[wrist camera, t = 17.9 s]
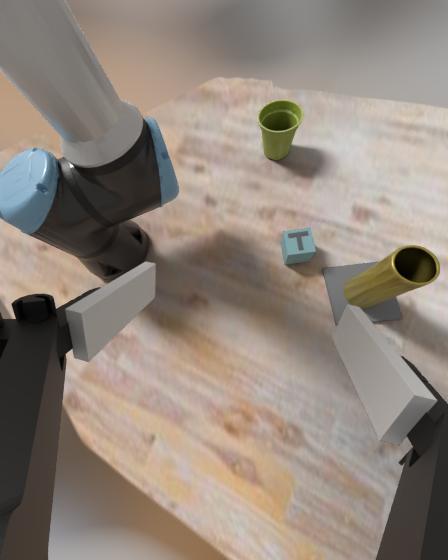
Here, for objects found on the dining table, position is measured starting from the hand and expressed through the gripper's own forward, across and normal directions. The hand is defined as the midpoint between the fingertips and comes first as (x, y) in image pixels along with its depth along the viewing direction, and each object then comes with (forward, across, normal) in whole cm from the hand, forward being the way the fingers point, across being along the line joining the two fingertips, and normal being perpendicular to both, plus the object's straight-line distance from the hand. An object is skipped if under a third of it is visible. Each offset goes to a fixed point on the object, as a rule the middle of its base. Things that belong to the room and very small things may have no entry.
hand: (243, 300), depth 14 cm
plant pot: (+50, +1, +16) cm, 52 cm away
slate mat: (+26, +21, -8) cm, 35 cm away
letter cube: (+32, +9, -4) cm, 33 cm away
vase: (+26, +21, -7) cm, 35 cm away
